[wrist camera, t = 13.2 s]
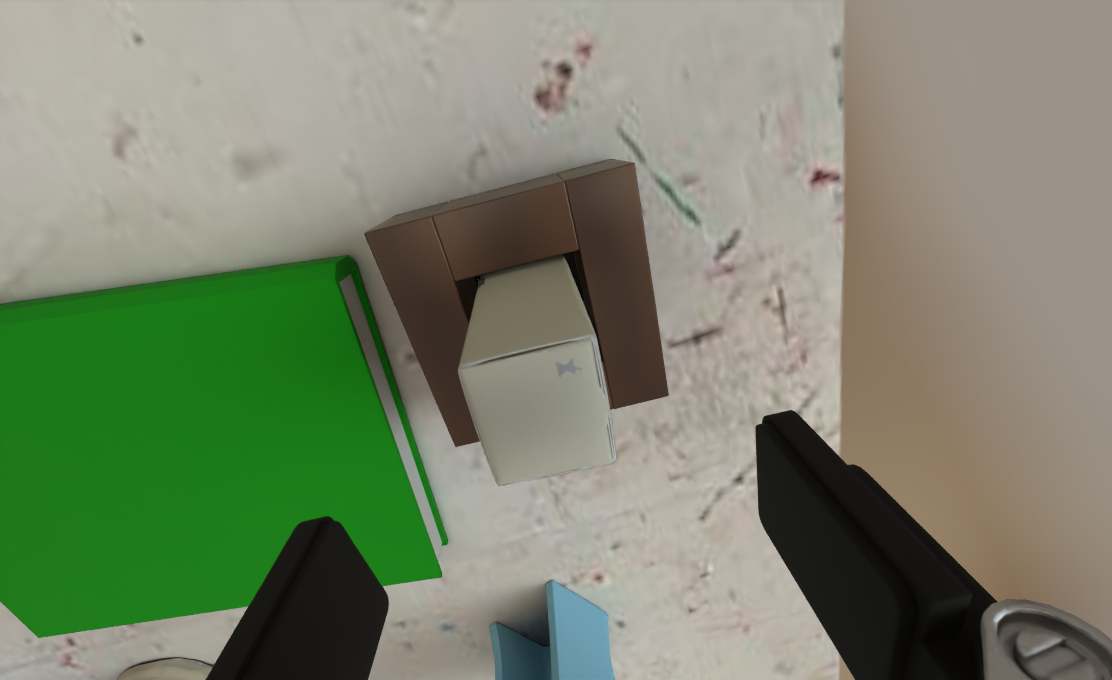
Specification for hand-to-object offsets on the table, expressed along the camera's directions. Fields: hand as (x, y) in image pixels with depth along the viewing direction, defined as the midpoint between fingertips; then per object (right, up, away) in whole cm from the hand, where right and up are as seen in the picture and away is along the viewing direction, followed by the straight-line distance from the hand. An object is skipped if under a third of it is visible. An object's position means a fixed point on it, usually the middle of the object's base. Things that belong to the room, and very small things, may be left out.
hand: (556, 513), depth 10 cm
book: (-24, -3, +18) cm, 30 cm away
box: (-1, +7, +16) cm, 17 cm away
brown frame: (-1, +7, +15) cm, 17 cm away
